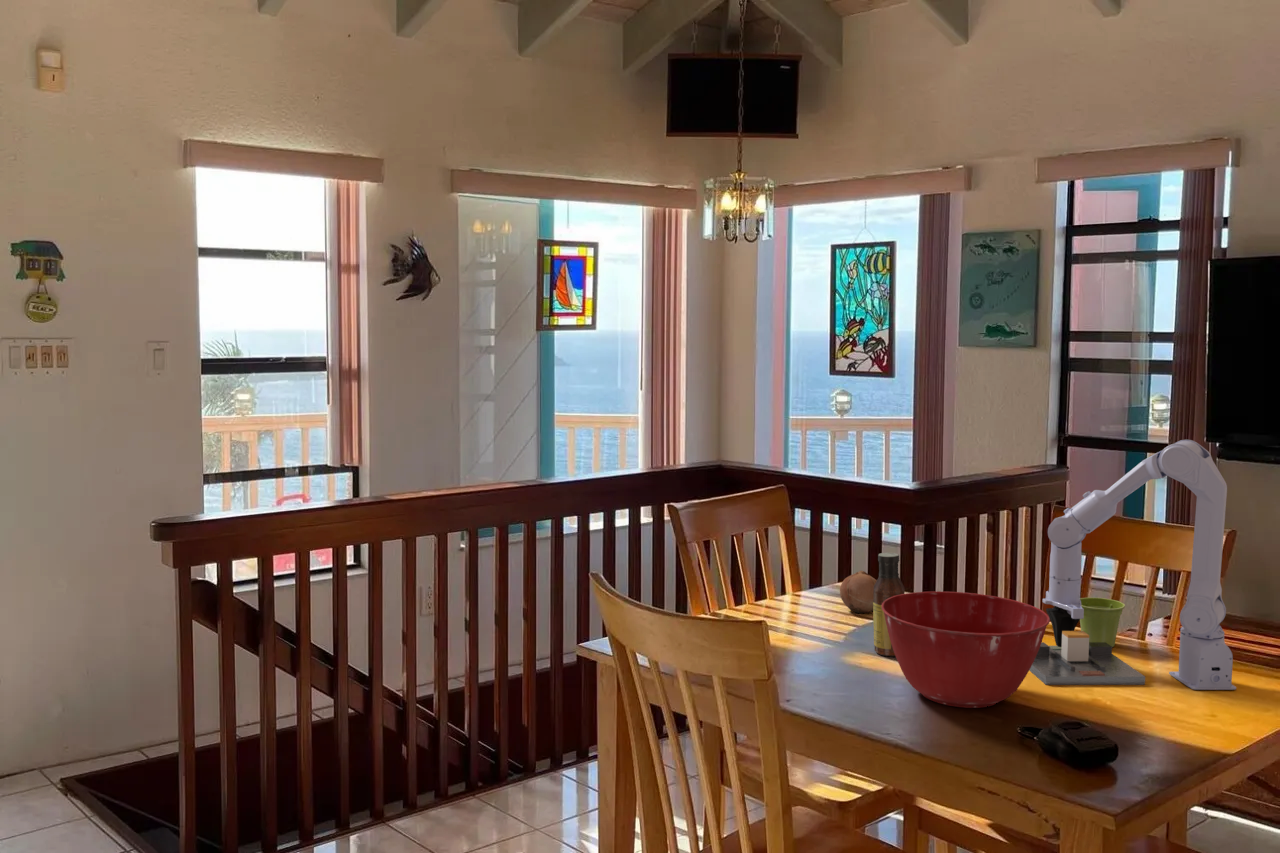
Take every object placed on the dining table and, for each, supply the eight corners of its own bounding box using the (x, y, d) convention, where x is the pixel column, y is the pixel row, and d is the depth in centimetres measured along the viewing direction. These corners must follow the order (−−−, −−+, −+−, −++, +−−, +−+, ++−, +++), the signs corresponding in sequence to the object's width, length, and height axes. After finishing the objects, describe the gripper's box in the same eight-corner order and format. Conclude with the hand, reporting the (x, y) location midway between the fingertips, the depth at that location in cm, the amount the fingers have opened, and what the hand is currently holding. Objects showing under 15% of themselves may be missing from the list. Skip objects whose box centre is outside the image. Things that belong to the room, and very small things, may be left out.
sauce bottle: (903, 649, 234) (906, 551, 232) (907, 658, 227) (910, 557, 226) (870, 648, 234) (872, 550, 232) (873, 657, 228) (875, 557, 226)
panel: (1144, 684, 211) (1145, 665, 211) (1045, 684, 211) (1046, 665, 211) (1100, 653, 231) (1101, 635, 231) (1009, 653, 231) (1010, 635, 231)
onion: (858, 620, 268) (860, 577, 271) (890, 616, 261) (892, 573, 264) (829, 610, 263) (832, 567, 266) (861, 607, 256) (863, 562, 259)
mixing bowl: (1061, 687, 210) (1064, 602, 209) (1026, 735, 186) (1029, 640, 184) (908, 663, 224) (910, 583, 223) (856, 705, 200) (858, 616, 199)
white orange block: (1088, 661, 220) (1089, 635, 219) (1067, 661, 220) (1068, 635, 219) (1082, 656, 223) (1083, 630, 222) (1061, 656, 223) (1062, 630, 222)
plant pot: (1115, 654, 231) (1117, 611, 230) (1067, 645, 237) (1068, 603, 236) (1128, 643, 238) (1130, 601, 237) (1081, 635, 244) (1083, 595, 243)
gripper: (1031, 569, 233) (1029, 635, 234) (1058, 585, 219) (1055, 656, 220) (1066, 569, 233) (1064, 635, 235) (1095, 585, 219) (1092, 656, 220)
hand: (1062, 646), depth 227 cm, fingers closed
